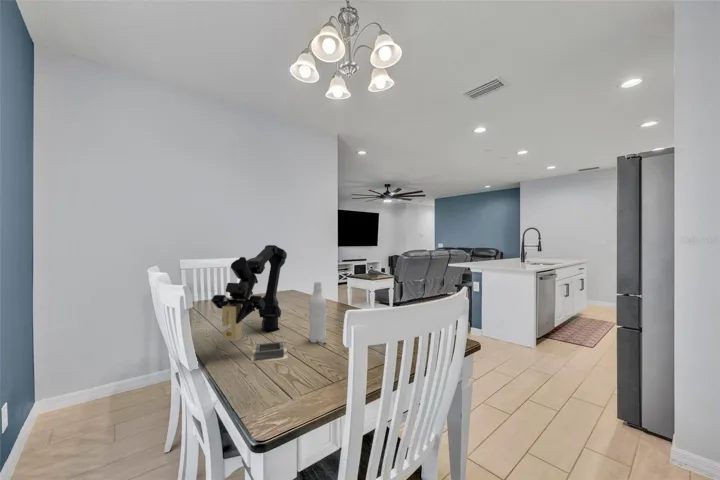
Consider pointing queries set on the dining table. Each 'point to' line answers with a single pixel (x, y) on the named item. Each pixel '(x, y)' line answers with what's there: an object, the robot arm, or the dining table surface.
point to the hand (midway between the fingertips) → (230, 322)
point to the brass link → (231, 322)
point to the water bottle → (317, 315)
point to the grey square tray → (269, 352)
